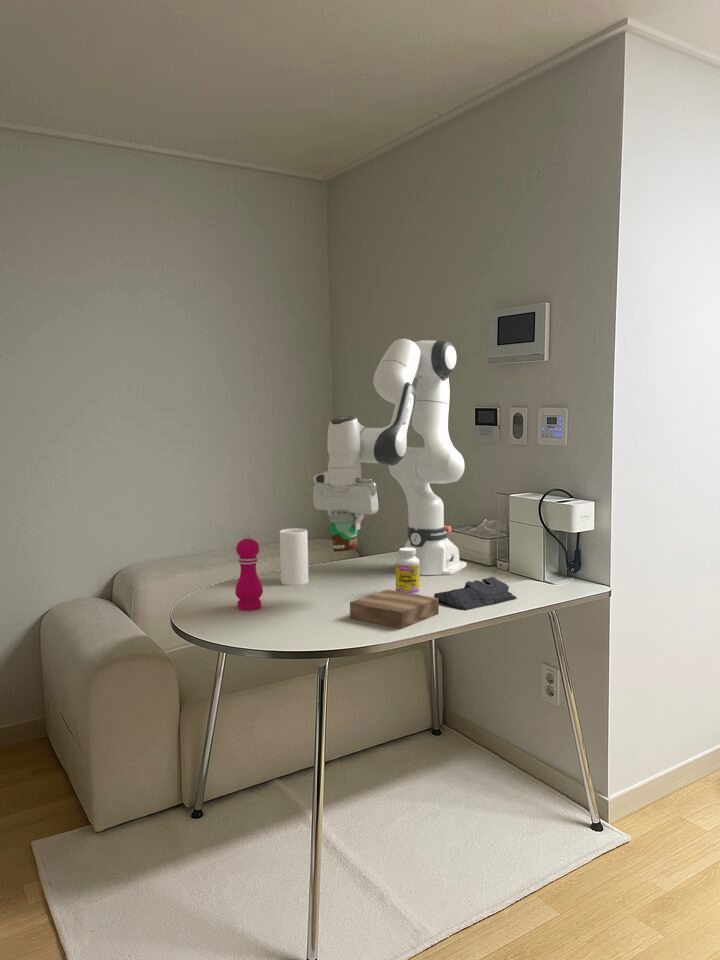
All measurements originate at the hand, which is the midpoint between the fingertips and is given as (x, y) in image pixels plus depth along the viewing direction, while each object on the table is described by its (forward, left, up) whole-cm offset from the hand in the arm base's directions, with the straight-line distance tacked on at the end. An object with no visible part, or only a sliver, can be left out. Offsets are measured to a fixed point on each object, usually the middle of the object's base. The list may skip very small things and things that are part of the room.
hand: (345, 528), depth 208 cm
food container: (0, +1, -6) cm, 6 cm away
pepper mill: (+20, -17, -20) cm, 33 cm away
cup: (-7, -26, -20) cm, 34 cm away
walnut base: (+4, +19, -20) cm, 28 cm away
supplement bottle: (-16, +9, -20) cm, 27 cm away
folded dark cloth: (-22, +27, -21) cm, 40 cm away
